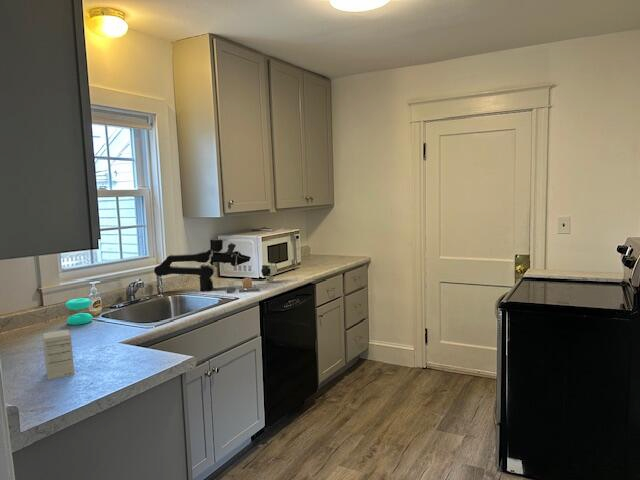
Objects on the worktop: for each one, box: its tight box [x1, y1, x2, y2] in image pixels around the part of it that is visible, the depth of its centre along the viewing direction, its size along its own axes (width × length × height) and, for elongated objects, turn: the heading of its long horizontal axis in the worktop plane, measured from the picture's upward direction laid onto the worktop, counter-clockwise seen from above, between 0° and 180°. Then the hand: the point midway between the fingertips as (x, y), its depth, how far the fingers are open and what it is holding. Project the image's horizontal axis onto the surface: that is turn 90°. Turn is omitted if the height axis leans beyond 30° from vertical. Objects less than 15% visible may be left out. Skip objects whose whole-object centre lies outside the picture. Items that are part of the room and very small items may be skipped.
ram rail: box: [225, 285, 236, 294], centre depth 265 cm, size 3×14×3 cm, turn 5°
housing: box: [242, 277, 253, 287], centre depth 270 cm, size 5×5×6 cm
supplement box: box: [42, 329, 75, 381], centre depth 144 cm, size 7×7×13 cm
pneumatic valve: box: [260, 262, 278, 284], centre depth 284 cm, size 6×12×12 cm, turn 157°
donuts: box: [65, 297, 94, 326], centre depth 206 cm, size 10×10×10 cm
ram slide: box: [227, 279, 235, 287], centre depth 269 cm, size 3×3×4 cm
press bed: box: [238, 286, 259, 293], centre depth 263 cm, size 10×8×1 cm
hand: (250, 258), depth 269 cm, fingers open, 9 cm apart
